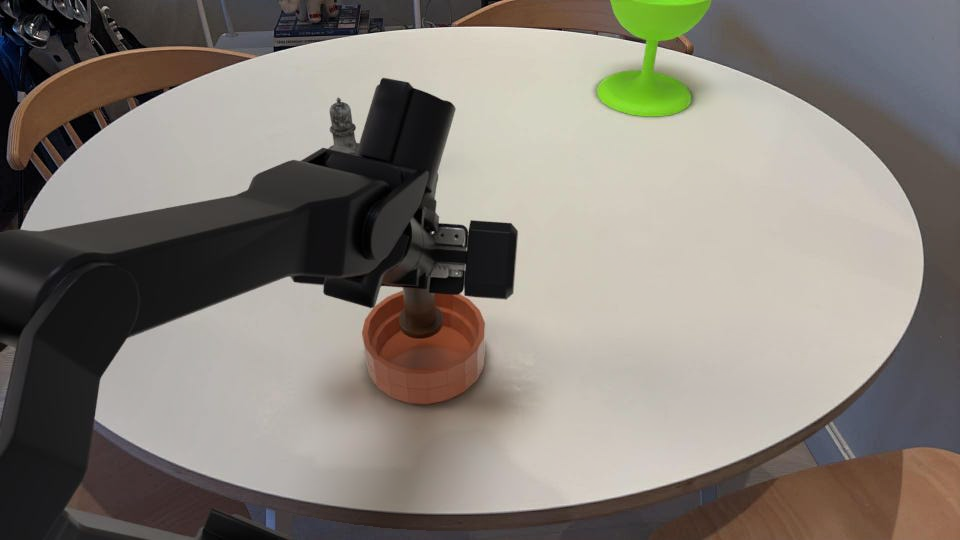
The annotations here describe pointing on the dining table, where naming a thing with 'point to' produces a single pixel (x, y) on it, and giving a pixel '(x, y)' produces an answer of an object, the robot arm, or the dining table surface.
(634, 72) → the wineglass
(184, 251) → the robot arm
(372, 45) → the dining table surface
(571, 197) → the dining table surface
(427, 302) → the brown cylinder
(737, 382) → the dining table surface
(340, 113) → the grey chess piece
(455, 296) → the bowl
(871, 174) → the dining table surface
